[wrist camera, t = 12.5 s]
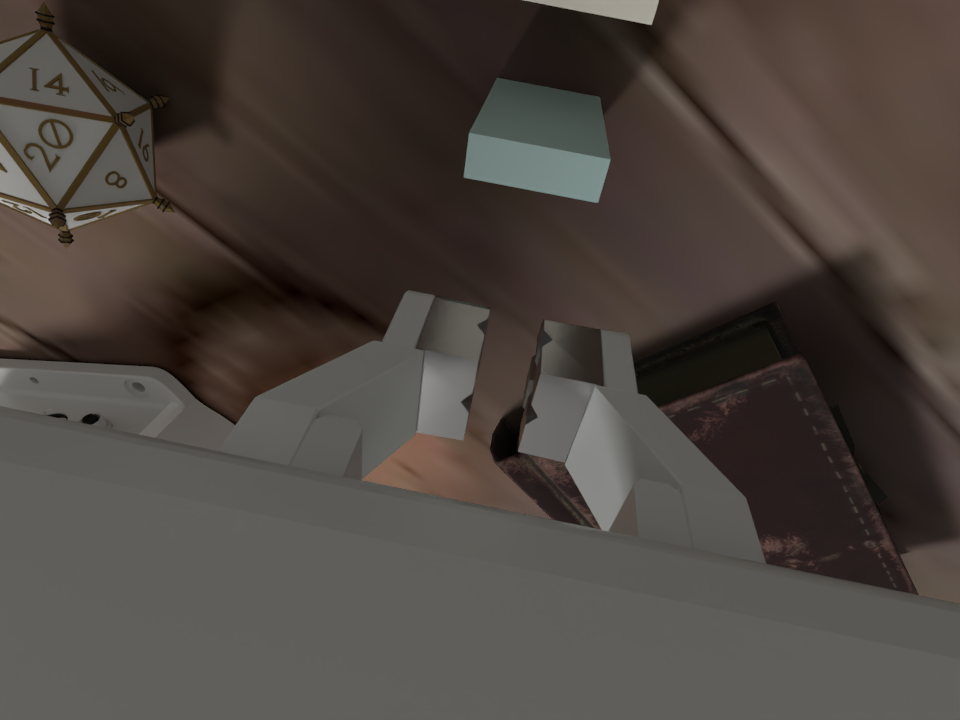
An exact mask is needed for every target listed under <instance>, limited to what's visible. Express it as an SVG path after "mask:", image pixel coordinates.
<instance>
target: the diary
mask: <svg viewBox="0 0 960 720" xmlns="http://www.w3.org/2000/svg"><path fill="white" fill-rule="evenodd" d="M634 369H635V371H636V373H637V376H635V377H636V383H637V390H638V394H641V395H646V396H647V397H648V398H649V399H650V400H651V401H652V402H653V403H654V404H655V405H656V406H657V407H658V408H659V409H660V410H661V411H662V412H663V413H664V414H665V415H666V416H667V417H668V418H669V419H670V420H671V421H672V422H673V424H674V425H675V426H676V427H677V428H678V429H679V430H680V431H681V432H682V433H683V434H684V435H685V436H686V437H687V438H688V439H689V440H690V441H691V442H692V443H693V444H694V445H695V446H696V447H697V448H698V449H699V450H700V451H701V452H702V453H703V454H704V455H705V456H706V457H707V458H708V459H709V460H710V462H711V463H712V464H713V465H714V466H715V467H716V468H717V469H718V470H719V471H720V472H721V473H722V474H723V475H724V476H725V477H726V478H727V479H728V480H729V481H730V482H731V483H732V484H733V485H734V486H735V487H736V488H737V489H738V490H739V491H740V492H741V493H742V494H743V495H744V496H745V497H746V499H747V503H748V506H749V509H750V512H751V516H752V519H753V522H754V526H755V529H756V532H757V535H758V539H759V542H760V545H761V549H762V552H763V555H764V558H765V562H766V564H770V565H775V566H779V567H784V568H789V569H794V570H799V571H804V572H809V573H813V574H818V575H823V576H828V577H833V578H838V579H843V580H848V581H852V582H857V583H862V584H867V585H872V586H877V587H882V588H886V589H891V590H896V591H901V592H906V593H911V594H916V595H918V593H917V590H916V588H915V586H914V584H913V582H912V580H911V578H910V576H909V574H908V572H907V570H906V567H905V565H904V563H903V561H902V559H901V557H900V555H899V553H898V551H897V549H896V547H895V544H894V542H893V540H892V538H891V536H890V534H889V532H888V530H887V528H886V526H885V524H884V521H883V518H882V516H881V513H880V511H879V508H878V506H877V505H876V504H877V503H878V502H880V501H881V500H883V499H884V498H886V497H887V496H886V495H885V493H884V492H883V491H882V490H881V489H880V488H879V487H878V486H877V485H876V484H875V483H874V482H873V480H872V479H871V478H870V477H869V476H868V474H867V473H866V472H865V471H864V469H863V468H862V467H861V465H860V464H859V463H858V462H857V460H856V459H855V458H854V444H853V442H852V439H851V437H850V434H849V432H848V429H847V427H846V424H845V422H844V419H843V417H842V414H841V412H840V409H839V407H838V405H836V406H833V407H830V408H829V406H828V404H827V402H826V400H825V398H824V396H823V394H822V392H821V390H820V388H819V385H818V383H817V381H816V379H815V377H814V375H813V373H812V371H811V369H810V367H809V365H808V363H807V360H806V358H805V356H804V354H803V353H800V352H799V350H798V347H797V345H796V343H795V341H794V338H793V336H792V334H791V332H790V329H789V327H788V325H787V323H786V320H785V318H784V316H783V314H782V312H781V310H780V307H779V305H778V303H777V301H776V302H774V303H771V304H769V305H767V306H764V307H762V308H760V309H758V310H755V311H753V312H751V313H748V314H746V315H744V316H742V317H739V318H737V319H735V320H732V321H730V322H728V323H725V324H723V325H721V326H719V327H716V328H714V329H712V330H709V331H707V332H705V333H703V334H700V335H698V336H696V337H693V338H691V339H689V340H686V341H684V342H682V343H680V344H677V345H675V346H673V347H670V348H668V349H666V350H664V351H661V352H659V353H657V354H654V355H652V356H650V357H648V358H645V359H643V360H641V361H638V362H636V363H634ZM519 436H520V435H519V434H518V432H517V431H516V430H515V429H514V428H513V427H512V426H511V425H510V424H509V422H508V421H507V420H506V419H501V420H500V422H499V424H498V425H497V427H496V429H495V431H494V432H493V435H492V441H491V446H490V451H491V454H492V457H493V460H494V463H495V464H496V465H497V466H498V467H499V468H500V469H501V470H502V471H503V472H504V473H505V474H506V475H507V476H508V477H509V478H510V479H512V480H513V481H514V482H515V483H516V484H517V485H518V486H519V487H520V488H521V489H522V490H523V491H524V492H525V493H526V494H527V495H528V496H529V497H530V498H531V499H532V500H533V501H534V502H535V503H536V504H537V505H538V506H539V507H540V508H541V509H542V510H543V511H544V512H545V513H546V514H548V515H549V516H550V517H551V518H552V519H553V520H556V521H561V522H566V523H571V524H576V525H580V526H585V527H590V528H595V529H600V530H602V529H601V528H600V526H599V524H598V522H597V520H596V519H595V517H594V515H593V513H592V512H591V510H590V508H589V506H588V505H587V503H586V501H585V499H584V498H583V496H582V494H581V492H580V491H579V489H578V487H577V485H576V483H575V482H574V480H573V478H572V476H571V475H570V473H569V471H568V469H567V468H566V466H565V462H560V461H556V460H552V459H547V458H543V457H539V456H534V455H530V454H526V453H521V452H518V446H519Z"/></svg>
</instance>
